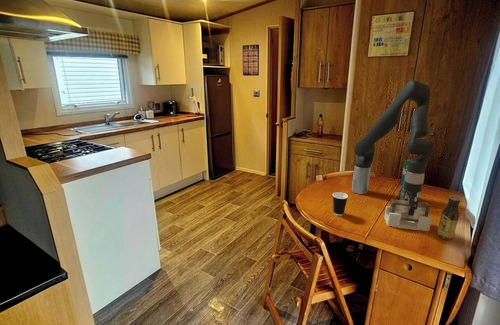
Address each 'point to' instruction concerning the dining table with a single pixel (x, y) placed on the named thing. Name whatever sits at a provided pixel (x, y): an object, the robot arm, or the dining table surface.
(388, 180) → the dining table surface
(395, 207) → the grey tapered panel
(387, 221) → the white notched block
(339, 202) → the dixie cup
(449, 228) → the sauce bottle
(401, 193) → the milk carton
